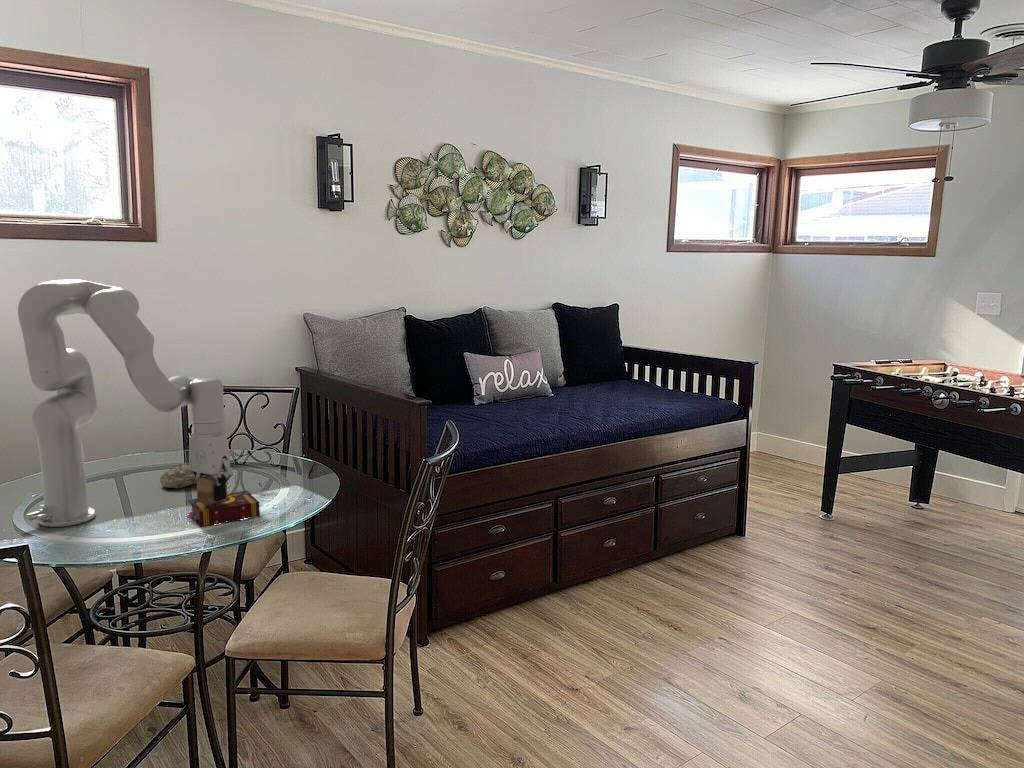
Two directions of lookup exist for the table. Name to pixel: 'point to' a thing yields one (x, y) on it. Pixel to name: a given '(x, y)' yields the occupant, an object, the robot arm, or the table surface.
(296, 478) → the table surface
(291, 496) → the table surface
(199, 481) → the walnut block
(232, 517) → the decorative book
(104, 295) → the robot arm
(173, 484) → the fossil
